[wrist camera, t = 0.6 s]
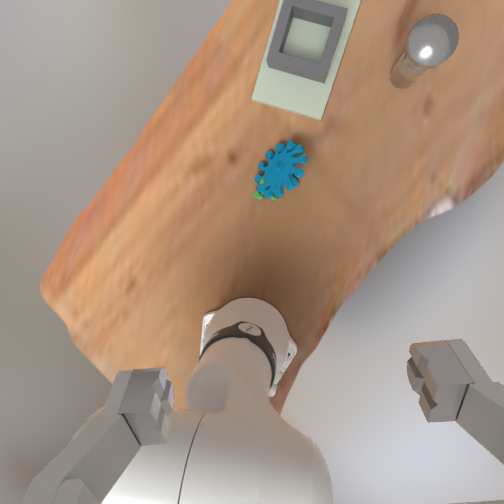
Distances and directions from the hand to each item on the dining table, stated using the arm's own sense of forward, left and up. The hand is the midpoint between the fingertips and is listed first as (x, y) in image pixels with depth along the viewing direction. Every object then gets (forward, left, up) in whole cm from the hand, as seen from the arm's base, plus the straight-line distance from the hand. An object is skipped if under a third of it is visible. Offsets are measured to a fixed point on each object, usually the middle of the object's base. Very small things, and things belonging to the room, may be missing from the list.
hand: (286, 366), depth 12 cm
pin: (+27, -8, -51) cm, 58 cm away
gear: (+7, +6, -51) cm, 52 cm away
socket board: (+27, +8, -51) cm, 58 cm away
